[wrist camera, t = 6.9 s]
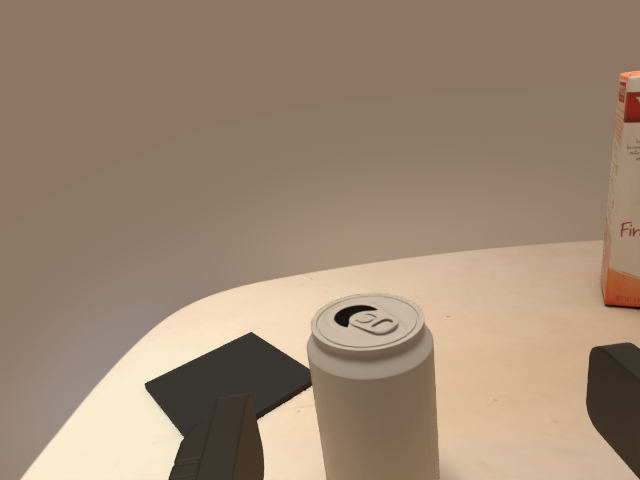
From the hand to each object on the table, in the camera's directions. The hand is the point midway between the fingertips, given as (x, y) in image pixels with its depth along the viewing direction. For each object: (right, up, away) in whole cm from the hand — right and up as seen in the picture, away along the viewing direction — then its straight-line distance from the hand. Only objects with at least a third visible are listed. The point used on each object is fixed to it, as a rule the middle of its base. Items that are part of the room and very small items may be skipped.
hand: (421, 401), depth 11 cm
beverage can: (+1, -11, +16) cm, 20 cm away
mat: (-10, -9, +28) cm, 31 cm away
